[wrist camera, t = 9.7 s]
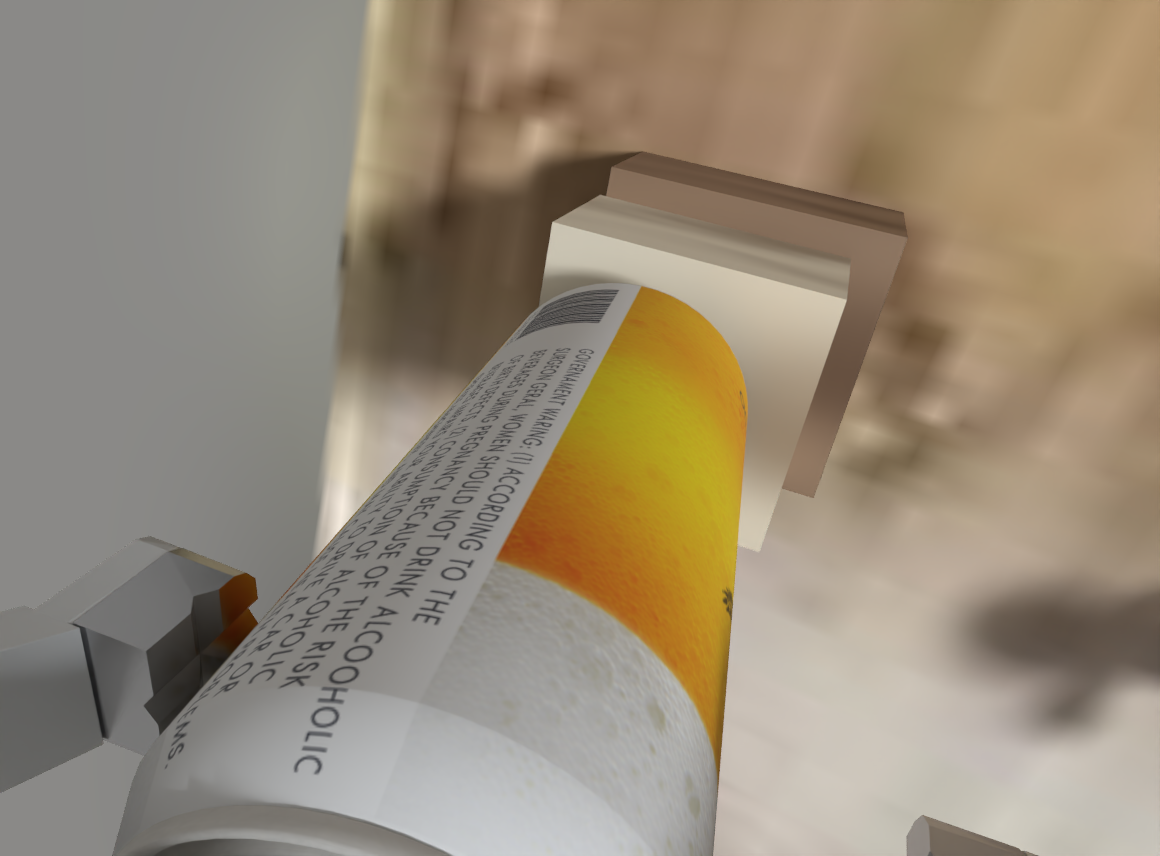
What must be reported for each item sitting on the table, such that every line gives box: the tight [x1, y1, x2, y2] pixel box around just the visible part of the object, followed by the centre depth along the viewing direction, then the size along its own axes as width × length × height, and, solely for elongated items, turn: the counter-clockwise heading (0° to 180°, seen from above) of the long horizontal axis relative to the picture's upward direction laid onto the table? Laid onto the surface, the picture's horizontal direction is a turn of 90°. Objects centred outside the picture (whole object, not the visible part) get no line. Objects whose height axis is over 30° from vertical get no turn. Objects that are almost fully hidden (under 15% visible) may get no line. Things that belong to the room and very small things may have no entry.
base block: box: [606, 152, 908, 498], centre depth 26 cm, size 8×8×4 cm
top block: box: [539, 195, 851, 552], centre depth 22 cm, size 7×7×4 cm
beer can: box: [112, 283, 748, 856], centre depth 14 cm, size 6×6×15 cm
